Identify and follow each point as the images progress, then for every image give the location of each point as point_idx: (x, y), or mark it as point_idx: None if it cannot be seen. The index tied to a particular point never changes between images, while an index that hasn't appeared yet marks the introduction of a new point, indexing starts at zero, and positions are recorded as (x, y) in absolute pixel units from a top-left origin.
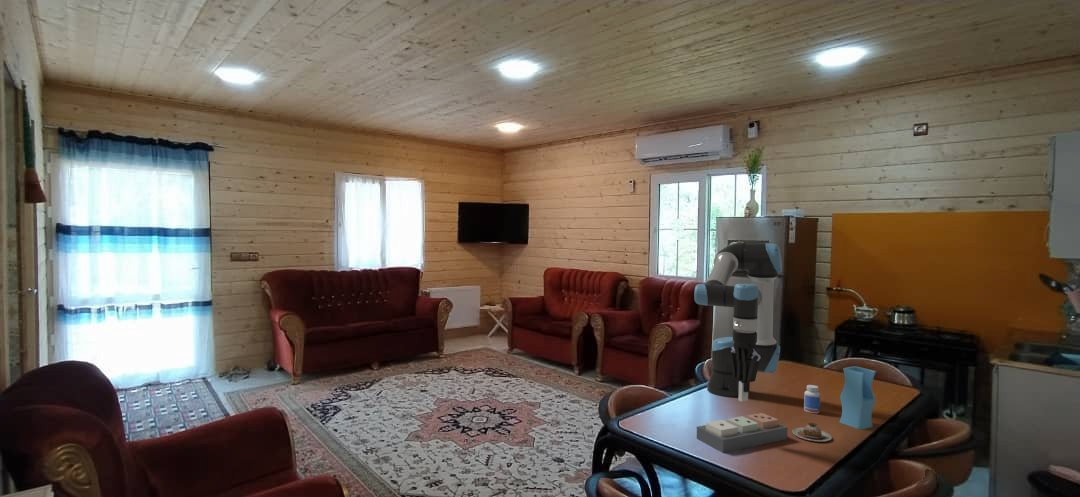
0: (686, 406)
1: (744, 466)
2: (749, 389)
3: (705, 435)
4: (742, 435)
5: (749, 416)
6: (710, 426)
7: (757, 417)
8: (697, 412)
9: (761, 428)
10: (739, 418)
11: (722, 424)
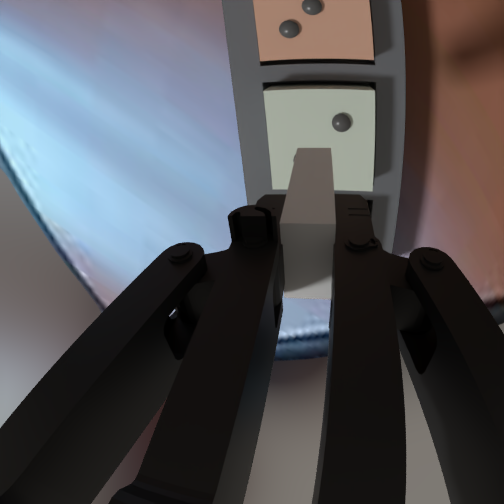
0: (28, 125)
1: (462, 272)
2: (367, 206)
3: None
4: (393, 206)
5: (277, 58)
6: None
7: (304, 30)
8: (67, 117)
9: (368, 66)
10: (286, 128)
11: None
